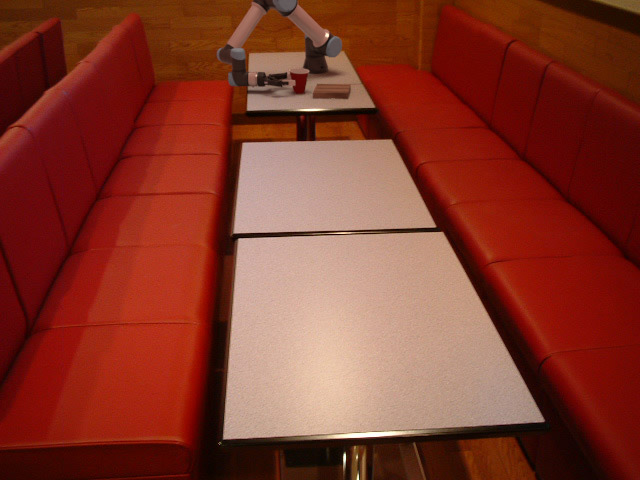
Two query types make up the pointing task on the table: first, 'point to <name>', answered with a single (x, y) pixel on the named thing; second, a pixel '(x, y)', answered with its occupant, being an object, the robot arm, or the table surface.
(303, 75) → the plastic cup
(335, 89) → the walnut stand
